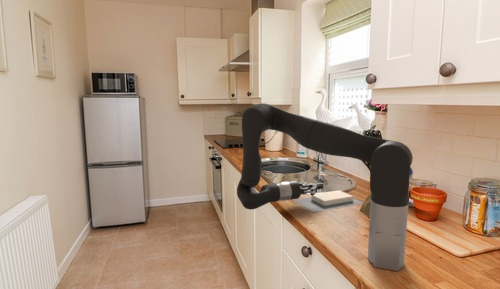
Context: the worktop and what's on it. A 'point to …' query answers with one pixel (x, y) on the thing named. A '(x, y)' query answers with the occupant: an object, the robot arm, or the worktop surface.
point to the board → (317, 207)
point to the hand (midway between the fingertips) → (322, 185)
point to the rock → (366, 206)
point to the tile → (332, 198)
